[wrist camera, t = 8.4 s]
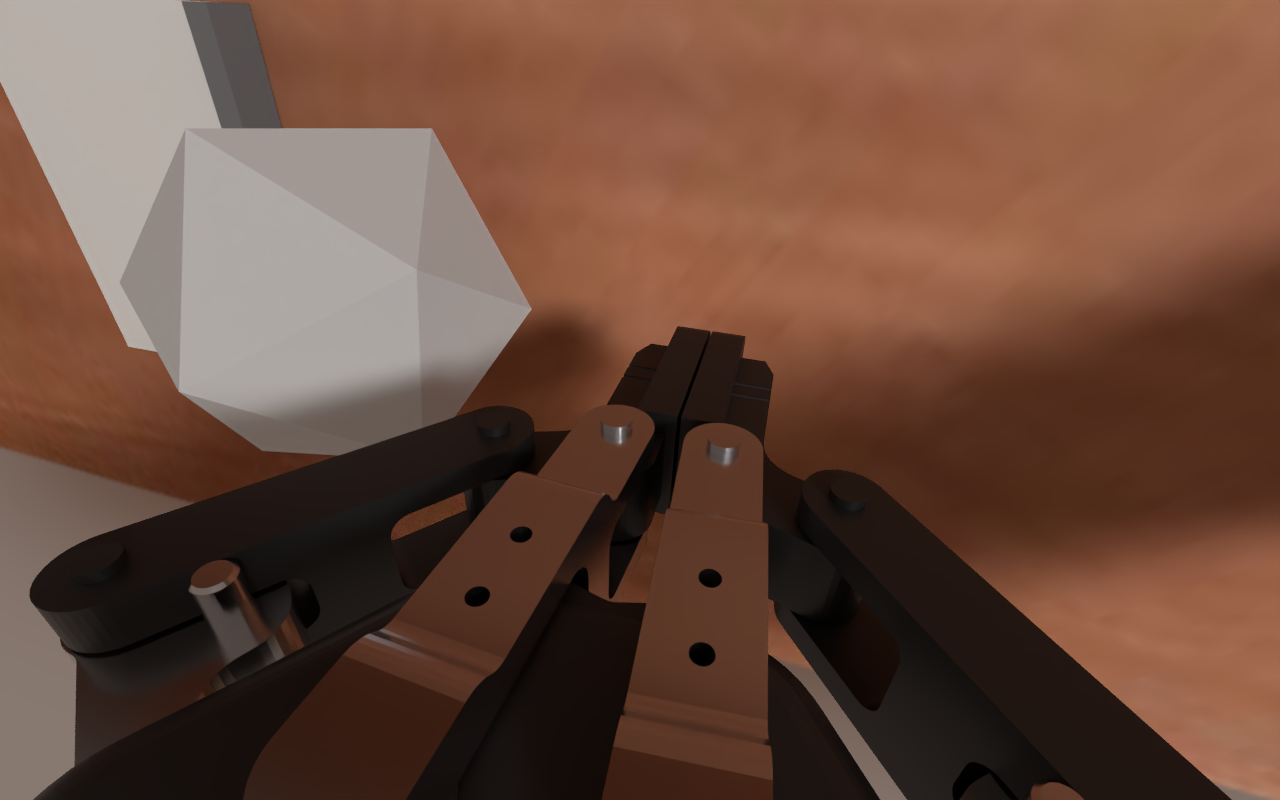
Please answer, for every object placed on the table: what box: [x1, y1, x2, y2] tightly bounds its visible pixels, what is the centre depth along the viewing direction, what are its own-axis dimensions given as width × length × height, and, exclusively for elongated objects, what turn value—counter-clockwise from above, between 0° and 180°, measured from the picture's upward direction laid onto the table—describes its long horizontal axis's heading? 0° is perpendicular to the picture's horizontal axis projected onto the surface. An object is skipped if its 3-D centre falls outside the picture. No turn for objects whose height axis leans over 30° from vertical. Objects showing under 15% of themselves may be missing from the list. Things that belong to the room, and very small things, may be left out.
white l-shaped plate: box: [0, 0, 282, 352], centre depth 21 cm, size 11×13×2 cm
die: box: [120, 128, 531, 455], centre depth 16 cm, size 8×9×10 cm
